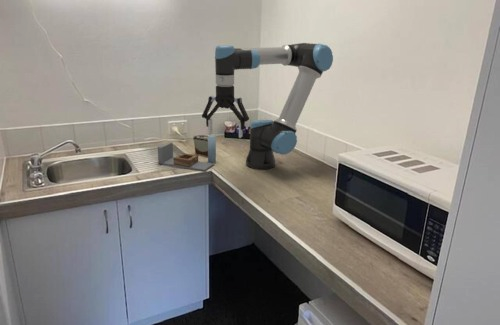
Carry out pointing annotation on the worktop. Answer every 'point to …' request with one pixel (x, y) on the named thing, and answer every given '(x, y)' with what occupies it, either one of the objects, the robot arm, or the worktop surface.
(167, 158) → the board
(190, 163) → the socket block
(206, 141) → the food container
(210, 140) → the dowel
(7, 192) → the worktop surface
